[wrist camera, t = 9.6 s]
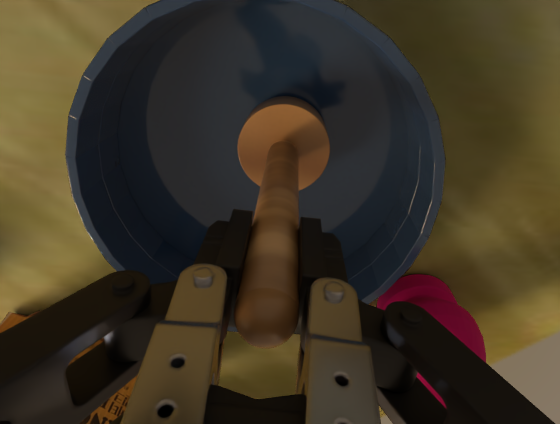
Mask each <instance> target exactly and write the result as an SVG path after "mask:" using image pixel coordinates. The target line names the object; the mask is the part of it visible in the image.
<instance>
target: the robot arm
mask: <svg viewBox="0 0 560 424" xmlns="http://www.w3.org/2000/svg"><path fill="white" fill-rule="evenodd" d="M252 222H253V211H248V210H239V209H233V212H232V215H231V218H230V221H220V220H217V221H216V222H215V223H213V224H212V225H211V226H209V228H208V230H207V233H206V236H205V237H204V240H203V243H202V245H201V247H200V250H199V252H198V254H197V257H196V259H195V262H194V264H193V265H192V266H189V267H187V268H186V269H184V270H183V271H182V272H181V274H180V276H179V279H178V280H175V281H171V282H166V283H157V284H150V280H149V278H148V277H147V275H145V274H144V273H142V272H139V271H134V270H123V271H118V272H114V273H111V274H109V275H107V276H105V277H103V278H101V279H100V280H98V281H96V282H94V283H92V284H90V285H88V286H87V287H85V288H83V289H81V290H79V291H77V292H76V293H74V294H72V295H70V296H68V297H66V298H64V299H63V300H61V301H59V302H57V303H55V304H53V305H51V306H50V307H48V308H46V309H44V310H42V311H40V312H38V313H37V314H35V315H33V316H31V317H29V318H27V319H26V320H24V321H22V322H20V323H18V324H16V325H14V326H13V327H11V328H9V329H7V330H5V331H3V332H1V333H0V424H79V423H80V422H82V421H83V420H84V419H85V418H86V417H88V416H89V415H90V414H91V413H92V412H94V411H95V410H96V409H97V408H98V407H100V406H101V405H102V404H103V403H104V402H106V401H107V400H108V399H109V398H110V397H112V396H113V395H114V394H115V393H116V392H118V391H119V390H120V389H121V388H122V387H124V386H125V385H126V384H127V383H128V382H130V381H131V380H132V379H133V378H134V377H136V376H137V375H138V376H137V378H136V381H135V384H134V387H133V390H132V392H131V395H130V398H129V401H128V403H127V406H126V409H125V412H124V413H123V414H121V415H120V416H118V417H117V418H116V419H115V420H113V421H112V422H111V423H109V424H381V420H380V413H379V406H380V407H381V409H382V410H383V411H384V413H385V414H386V415H387V416H388V418H389V419H390V420H391V421H392V423H393V424H555V423H554V422H553V421H551V420H550V419H549V418H548V417H547V416H546V415H545V414H544V413H542V412H541V411H540V410H539V409H538V408H537V407H535V406H534V405H533V404H532V403H531V402H530V401H529V400H528V399H526V398H525V397H524V396H523V395H522V394H521V393H520V392H519V391H517V390H516V389H515V388H514V387H513V386H512V385H511V384H509V383H508V382H507V381H506V380H505V379H503V377H501V376H500V375H499V374H498V373H497V372H496V371H495V370H493V369H492V368H491V367H490V366H489V365H488V364H487V363H485V362H484V361H483V360H482V359H481V358H480V357H479V356H477V355H476V354H475V353H474V352H473V351H472V350H471V349H469V348H468V347H467V346H466V345H465V344H464V343H463V342H461V341H460V340H459V339H458V338H457V337H456V336H455V335H453V334H452V333H451V332H450V331H449V330H448V329H447V328H445V327H444V326H443V325H442V324H441V323H440V322H439V321H437V320H436V319H435V318H434V317H433V316H432V315H431V314H429V313H428V312H427V311H426V310H425V309H423V308H421V307H420V306H418V305H415V304H413V303H410V302H405V301H396V302H392V303H390V304H389V305H387V307H386V309H385V310H382V309H379V308H377V307H374V306H371V305H368V304H366V303H364V302H362V301H361V300H359V299H358V296H357V293H356V291H355V289H354V288H353V287H352V286H351V285H350V284H348V279H347V274H346V268H345V263H344V259H343V253H342V247H341V242H340V241H339V240H338V238H337V237H336V236H335V235H334V234H333V233H325V232H322V226H321V219H317V218H309V217H301V218H300V224H299V230H298V261H299V321H298V325H297V328H296V330H295V332H294V333H293V334H300V335H301V342H300V348H299V353H298V363H297V375H296V387H295V395H287V396H280V397H272V398H265V399H254V398H251V397H248V396H245V395H243V394H240V393H237V392H234V391H232V390H229V389H226V388H223V387H221V386H218V385H219V378H220V370H221V363H222V355H223V348H224V339H225V337H226V334H227V329H228V326H230V327H236V325H235V322H234V307H235V303H236V298H237V294H238V291H239V286H240V281H241V277H242V272H243V267H244V263H245V258H246V253H247V249H248V244H249V239H250V234H251V230H252ZM103 337H104V341H103V342H102V343H100V344H99V345H97V346H96V347H94V348H93V349H91V350H90V351H88V352H87V353H86V354H84V355H83V356H81V357H80V358H78V359H77V360H75V361H74V362H72V363H71V364H70V365H69V363H70V362H71V360H72V359H73V358H74V357H75V356H77V355H78V354H79V353H81V352H82V351H84V350H85V349H87V348H88V347H90V346H91V345H93V344H94V343H96V342H97V341H98V340H100V339H101V338H103ZM418 373H419V374H420V375H421V376H422V377H423V378H424V379H425V380H426V381H427V382H428V383H429V384H430V386H431V387H432V388H433V389H434V390H435V391H436V392H437V393H438V394H439V395H440V396H441V398H442V399H443V401H444V403H445V405H446V408H447V409H446V408H445V407H444V406H443V405H442V404H441V403H440V401H439V400H438V399H437V398H436V397H435V396H434V395H433V394H432V393H431V392H430V391H429V390H428V388H427V387H426V386H425V385H424V384H423V383H422V382H421V381H420V380H419V379H418V378H417V377H416V376H417V374H418Z"/></svg>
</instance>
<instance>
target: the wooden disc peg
mask: <svg viewBox="0 0 560 424" xmlns="http://www.w3.org/2000/svg"><path fill="white" fill-rule="evenodd" d="M329 154H330V143H329V138H328V134H327V130H326V126H325V123H324V121H323V119H322V117H321V115H320V114H319V113H318V111H317V110H316V109H315V108H314V107H313V106H311V105H310V104H309V103H307V102H305V101H303V100H301V99H299V98H296V97H290V96H279V97H274V98H271V99H268V100H266V101H264V102H262V103H261V104H259V105H258V106H257V107H256V108H255V109H253V111H252V112H251V113H250V114H249V116H248V118H247V120H246V122H245V124H244V126H243V128H242V130H241V132H240V135H239V139H238V157H239V161H240V164H241V166H242V168H243V170H244V171H245V173H246V174H247V176H248V177H249V178H250V179H251V180H252V181H253V182H255V183H256V184H257V185H259V186H260V192H259V196H258V201H257V205H256V210H255V215H254V219H253V224H252V230H251V234H250V239H249V244H248V249H247V253H246V258H245V263H244V267H243V272H242V277H241V281H240V286H239V291H238V294H237V298H236V303H235V307H234V322H235V325H236V328H237V330H238V332H239V334H240V335H241V337H242V338H243V339H244V340H245V341H247V342H248V343H249V344H251V345H253V346H255V347H259V348H274V347H277V346H279V345H281V344H283V343H285V342H286V341H287V340H288V339H289V338H290V337H291V336H292V335H293V333H294V332H295V330H296V328H297V325H298V321H299V261H298V230H299V190H302V189H304V188H306V187H308V186H309V185H311V184H312V183H314V182H315V181H316V180H317V179H318V178H319V177H320V176H321V174H322V173H323V171H324V170H325V168H326V165H327V163H328V159H329Z"/></svg>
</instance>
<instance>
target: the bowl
mask: <svg viewBox="0 0 560 424" xmlns="http://www.w3.org/2000/svg"><path fill="white" fill-rule="evenodd" d="M279 96H290V97H296V98H299V99H301V100H303V101H305V102H307V103H309V104H310V105H311V106H313V107H314V108H315V109H316V110H317V111H318V113H319V114H320V115H321V117H322V119H323V121H324V123H325V126H326V130H327V134H328V138H329V143H330V154H329V159H328V163H327V165H326V168H325V170H324V171H323V173H322V174H321V176H320V177H319V178H318V179H317V180H316V181H315V182H314V183H312V184H311V185H309V186H308V187H306V188H304V189H302V190H299V224H300V218H301V217H309V218H317V219H321V226H322V232H325V233H333V234H334V235H335V236H336V237H337V238H338V240H339V241H340V242H341V247H342V253H343V259H344V263H345V268H346V274H347V279H348V284H350V285H351V286H352V287H353V288H354V289H355V291H356V293H357V296H358V299H359V300H361V301H362V302H364V303H366V304H369V303H371V302H372V301H374V300H375V299H377V298H378V297H380V296H381V295H383V294H384V293H385V292H386V291H387V290H388V289H389V288H390V287H391V286H392V285H393V284H394V283H395V282H396V281H397V280H398V279H399V278H400V277H401V276H402V275H403V274H404V273H405V272H406V271H407V270H408V269H409V267H411V265H412V264H413V262H414V261H415V259H416V258H417V256H418V254H419V253H420V251H421V250H422V248H423V246H424V245H425V243H426V242H427V240H428V239H429V236H430V234H431V231H432V228H433V225H434V222H435V219H436V217H437V214H438V211H439V208H440V205H441V202H442V201H441V200H442V195H443V184H444V173H445V162H446V161H445V160H446V159H445V153H444V146H443V140H442V134H441V128H440V122H439V118H438V115H437V112H436V110H435V108H434V106H433V103H432V101H431V99H430V96H429V94H428V92H427V90H426V87H425V85H424V83H423V81H422V78H421V76H420V74H419V73H418V72H417V71H416V69H415V68H414V67H413V66H412V64H411V63H410V62H409V61H408V59H407V58H406V57H405V56H404V54H403V53H402V52H401V51H400V49H399V48H398V47H397V46H396V44H395V43H394V42H393V41H392V39H391V38H390V37H388V35H386V34H385V33H384V32H382V31H381V30H380V29H378V28H377V27H376V26H374V25H373V24H372V23H370V22H369V21H368V20H366V19H365V18H364V17H362V16H361V15H360V14H358V13H357V12H355V11H354V10H353V9H351V8H350V7H347V5H345V4H342V3H340V2H337V1H335V0H160V1H157V2H155V3H153V4H150V5H148V6H146V7H145V8H143V9H142V10H141V11H140V12H138V13H137V14H136V15H135V16H133V17H132V18H131V19H130V20H129V21H127V22H126V23H125V24H124V25H123V26H121V27H120V28H119V29H118V30H116V31H115V32H114V33H113V34H112V35H110V36H109V38H107V40H106V41H105V43H104V44H103V46H102V47H101V48H100V50H99V51H98V53H97V54H96V56H95V57H94V59H93V60H92V61H91V63H90V64H89V66H88V67H87V69H86V70H85V72H84V73H83V75H82V77H81V80H80V83H79V86H78V89H77V92H76V95H75V98H74V100H73V103H72V106H71V109H70V112H69V116H68V127H67V140H66V153H65V155H66V163H67V169H68V175H69V181H70V187H71V193H72V197H73V200H74V202H75V205H76V207H77V209H78V212H79V214H80V217H81V219H82V222H83V224H84V227H85V229H86V231H87V232H88V234H89V235H90V237H91V238H92V240H93V241H94V243H95V244H96V246H97V247H98V249H99V250H100V252H101V253H102V255H103V256H104V258H105V259H106V260H107V262H108V263H109V264H110V265H111V266H112V267H113V268H114V269H115V270H116V271H117V272H118V271H123V270H134V271H139V272H142V273H144V274H145V275H147V277H148V278H149V280H150V284H157V283H166V282H171V281H175V280H178V279H179V276H180V274H181V272H182V271H183V270H184V269H186V268H187V267H189V266H192V265H193V264H194V262H195V259H196V257H197V254H198V252H199V250H200V247H201V245H202V243H203V240H204V237H205V236H206V233H207V230H208V228H209V226H211V225H212V224H213V223H215V222H216V221H217V220H220V221H230V218H231V215H232V212H233V209H239V210H248V211H253V219H254V215H255V210H256V205H257V201H258V196H259V192H260V186H259V185H257V184H256V183H255V182H253V181H252V180H251V179H250V178H249V177H248V176H247V174H246V173H245V171H244V170H243V168H242V166H241V164H240V161H239V157H238V139H239V135H240V132H241V130H242V128H243V126H244V124H245V122H246V120H247V118H248V116H249V114H250V113H251V112H252V111H253V109H255V108H256V107H257V106H258V105H259V104H261V103H262V102H264V101H266V100H268V99H271V98H274V97H279ZM252 224H253V222H252ZM227 331H232V332H238V330H237V328H236V327H230V326H228V329H227Z"/></svg>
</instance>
